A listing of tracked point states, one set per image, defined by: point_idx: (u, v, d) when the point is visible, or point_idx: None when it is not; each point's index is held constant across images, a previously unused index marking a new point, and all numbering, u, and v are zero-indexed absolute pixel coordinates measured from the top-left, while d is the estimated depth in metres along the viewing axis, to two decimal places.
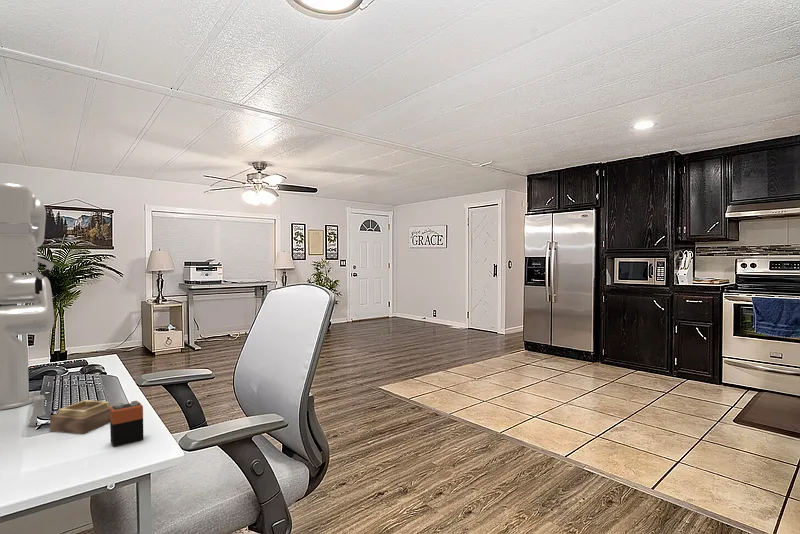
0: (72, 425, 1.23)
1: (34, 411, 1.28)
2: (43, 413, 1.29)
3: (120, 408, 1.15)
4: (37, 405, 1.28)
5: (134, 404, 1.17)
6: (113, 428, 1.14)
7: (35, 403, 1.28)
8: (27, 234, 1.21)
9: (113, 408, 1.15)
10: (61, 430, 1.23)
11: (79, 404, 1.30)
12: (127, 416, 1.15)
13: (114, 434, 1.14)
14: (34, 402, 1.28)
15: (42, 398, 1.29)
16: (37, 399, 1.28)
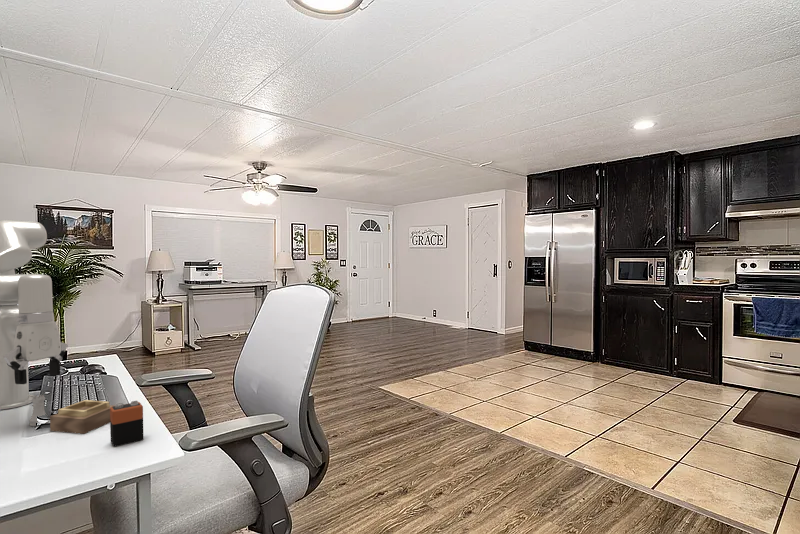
0: (72, 425, 1.23)
1: (33, 411, 1.28)
2: (43, 413, 1.29)
3: (120, 408, 1.15)
4: (37, 405, 1.28)
5: (134, 404, 1.17)
6: (113, 428, 1.14)
7: (35, 403, 1.28)
8: (19, 323, 1.26)
9: (113, 408, 1.15)
10: (61, 430, 1.23)
11: (79, 404, 1.30)
12: (127, 416, 1.15)
13: (114, 434, 1.14)
14: (34, 402, 1.28)
15: (42, 398, 1.29)
16: (37, 399, 1.28)
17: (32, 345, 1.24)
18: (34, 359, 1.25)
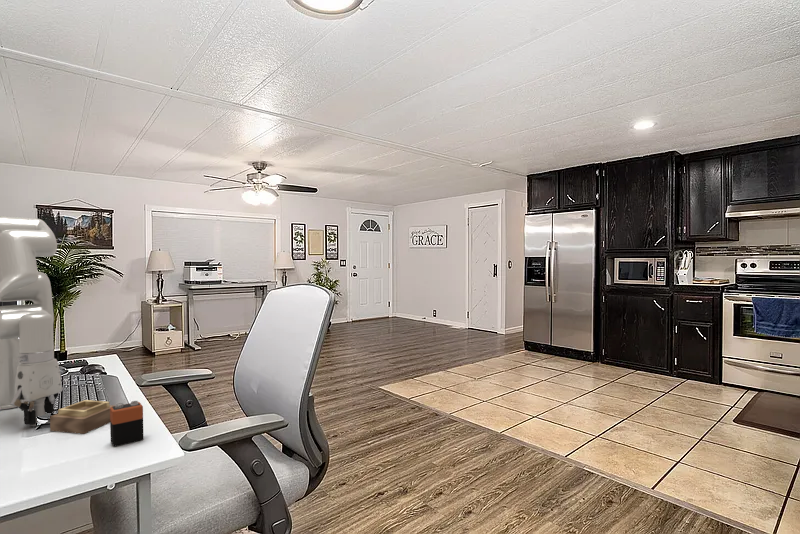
0: (72, 425, 1.23)
1: None
2: (43, 413, 1.29)
3: (120, 408, 1.15)
4: (37, 405, 1.28)
5: (134, 404, 1.17)
6: (113, 428, 1.14)
7: (35, 403, 1.28)
8: (20, 362, 1.26)
9: (113, 408, 1.15)
10: (61, 430, 1.23)
11: (79, 404, 1.30)
12: (127, 416, 1.15)
13: (114, 434, 1.14)
14: (34, 402, 1.28)
15: (42, 398, 1.29)
16: None
17: (33, 385, 1.25)
18: (35, 399, 1.25)
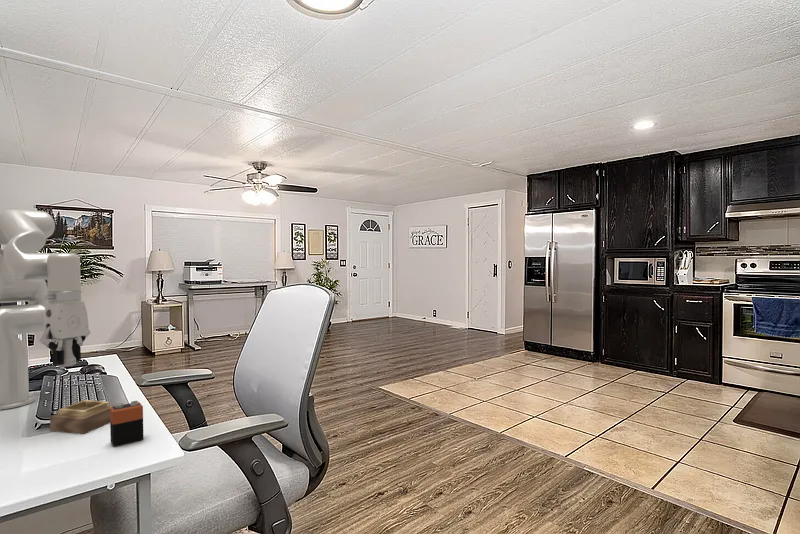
0: (72, 425, 1.23)
1: None
2: (71, 354, 1.28)
3: (120, 408, 1.15)
4: (65, 345, 1.27)
5: (134, 404, 1.17)
6: (113, 428, 1.14)
7: (63, 343, 1.27)
8: (48, 301, 1.25)
9: (113, 408, 1.15)
10: (61, 430, 1.23)
11: (79, 404, 1.30)
12: (127, 416, 1.15)
13: (114, 434, 1.14)
14: None
15: (70, 339, 1.28)
16: (65, 339, 1.27)
17: (61, 323, 1.24)
18: (63, 338, 1.24)
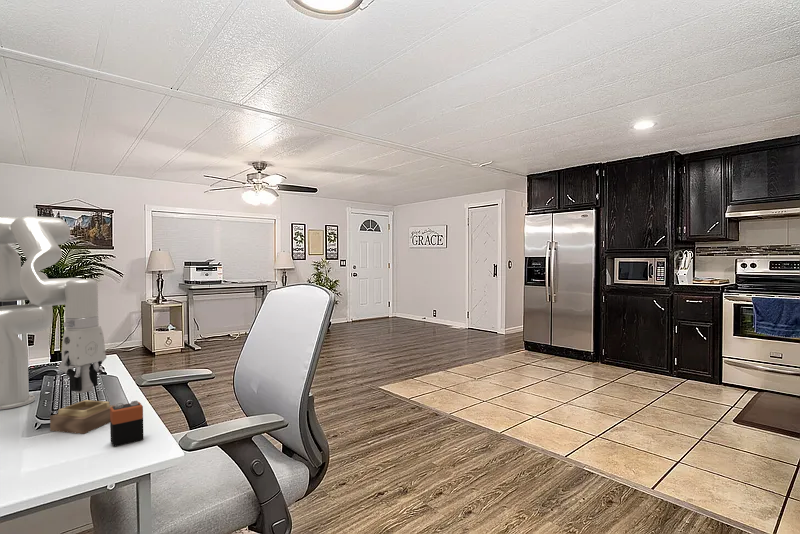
0: (72, 425, 1.23)
1: None
2: (88, 380, 1.28)
3: (120, 408, 1.15)
4: (83, 371, 1.27)
5: (134, 404, 1.17)
6: (113, 428, 1.14)
7: (81, 369, 1.27)
8: (66, 328, 1.25)
9: (113, 408, 1.15)
10: (61, 430, 1.23)
11: (79, 404, 1.30)
12: (127, 416, 1.15)
13: (114, 434, 1.14)
14: (80, 368, 1.27)
15: (87, 365, 1.28)
16: None
17: (80, 350, 1.24)
18: (81, 364, 1.24)
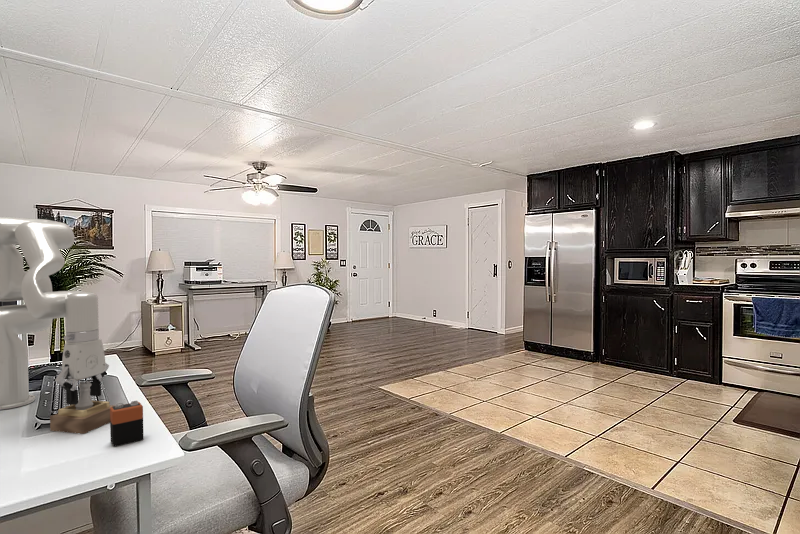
0: (72, 425, 1.23)
1: (80, 397, 1.27)
2: (89, 399, 1.28)
3: (120, 408, 1.15)
4: (84, 390, 1.27)
5: (134, 404, 1.17)
6: (113, 428, 1.14)
7: (82, 388, 1.27)
8: (66, 341, 1.25)
9: (113, 408, 1.15)
10: (61, 430, 1.23)
11: None
12: (127, 416, 1.15)
13: (114, 434, 1.14)
14: (81, 387, 1.27)
15: (89, 384, 1.28)
16: (84, 384, 1.27)
17: (80, 364, 1.24)
18: (81, 378, 1.24)
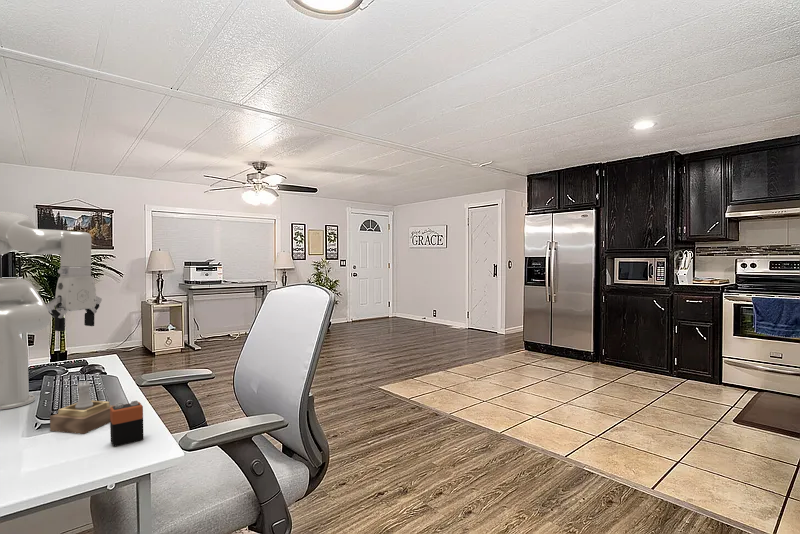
0: (72, 425, 1.23)
1: (79, 398, 1.27)
2: (89, 400, 1.28)
3: (120, 408, 1.15)
4: (83, 391, 1.27)
5: (134, 404, 1.17)
6: (113, 428, 1.14)
7: (81, 389, 1.27)
8: (60, 275, 1.36)
9: (113, 408, 1.15)
10: (61, 430, 1.23)
11: None
12: (127, 416, 1.15)
13: (114, 434, 1.14)
14: (80, 388, 1.27)
15: (88, 384, 1.28)
16: (83, 385, 1.27)
17: (72, 296, 1.34)
18: (72, 309, 1.35)
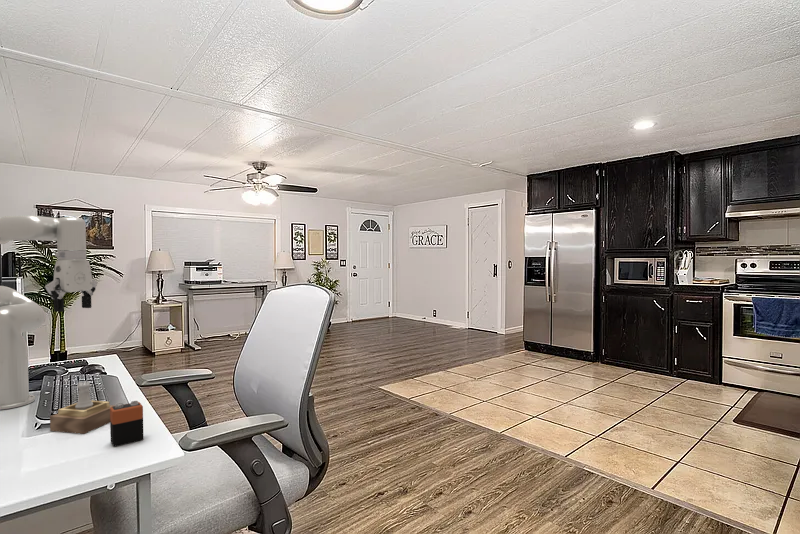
0: (72, 425, 1.23)
1: (79, 398, 1.27)
2: (88, 400, 1.28)
3: (120, 408, 1.15)
4: (83, 391, 1.27)
5: (134, 404, 1.17)
6: (113, 428, 1.14)
7: (81, 389, 1.27)
8: (57, 259, 1.43)
9: (113, 408, 1.15)
10: (61, 430, 1.23)
11: None
12: (127, 416, 1.15)
13: (114, 434, 1.14)
14: (80, 388, 1.27)
15: (88, 384, 1.28)
16: (83, 385, 1.27)
17: (69, 278, 1.42)
18: (70, 290, 1.42)
